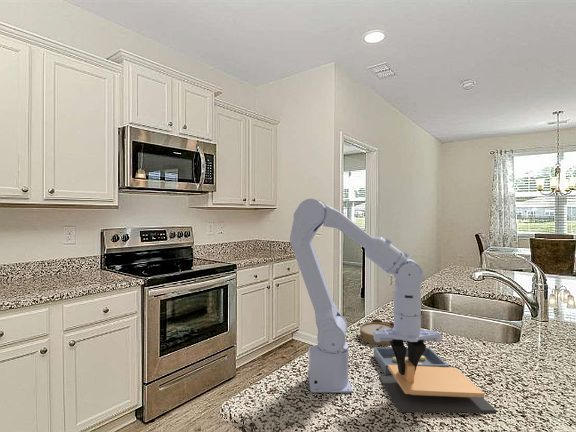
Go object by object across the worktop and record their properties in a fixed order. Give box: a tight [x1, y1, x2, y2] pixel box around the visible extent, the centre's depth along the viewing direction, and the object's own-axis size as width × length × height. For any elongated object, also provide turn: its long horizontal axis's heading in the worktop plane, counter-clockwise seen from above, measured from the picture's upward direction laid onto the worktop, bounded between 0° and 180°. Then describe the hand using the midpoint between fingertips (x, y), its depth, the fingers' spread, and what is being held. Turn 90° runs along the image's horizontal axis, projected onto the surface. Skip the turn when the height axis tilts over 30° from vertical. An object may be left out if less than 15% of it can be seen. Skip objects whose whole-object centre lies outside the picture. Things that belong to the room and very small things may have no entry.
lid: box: [388, 357, 485, 398], centre depth 75 cm, size 17×12×5 cm
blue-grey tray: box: [373, 346, 450, 376], centre depth 89 cm, size 16×11×2 cm
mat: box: [378, 375, 497, 414], centre depth 75 cm, size 20×14×1 cm
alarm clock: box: [358, 318, 394, 346], centre depth 109 cm, size 11×5×15 cm
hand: (406, 372), depth 75 cm, fingers closed on lid
